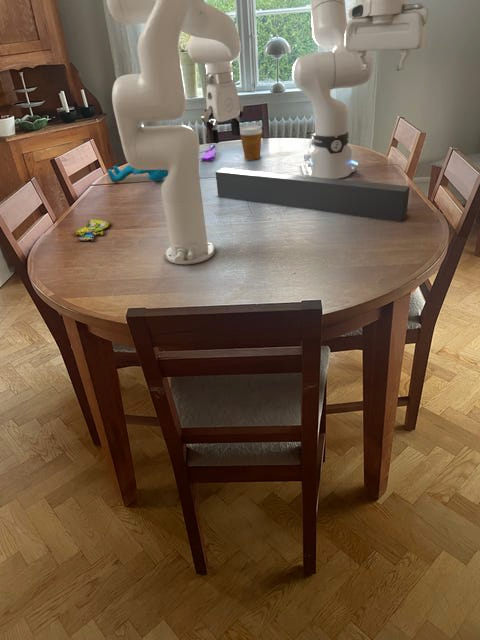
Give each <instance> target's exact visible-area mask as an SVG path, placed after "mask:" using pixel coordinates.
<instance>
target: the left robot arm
mask: <svg viewBox="0 0 480 640" xmlns="http://www.w3.org/2000/svg"><path fill="white" fill-rule="evenodd" d="M106 5H107V9H108V11H109V13H110V15H111V16H112V18H113V19H114V20H115V21H116V22H118V23H119V24H120V25H125V26H131V25H141V24H143V25H144V26H143V28H142V29H141V32H140V34H139V37H138V41H137V45H136V50H137V56H138V62H139V69H140V73H129V74H124V75H121V76H119V77H117V79H115V80H114V83H113V86H112V92H111V102H112V107H113V113H114V117H115V121H116V126H117V130H118V134H119V139H120V142H121V143H120V144H121V147H122V150H123V154H124V157H125V160H126V162H127V164H128V165H130V166H131V167H132V168H134V169H138V170H167V171H168V175H167V176H166V177H165V179H164V180H163V182H162V184H161V188H160V191H161V192H160V193H161V199H162V204H163V210H164V216H165V222H166V223H165V224H166V228H167V234H168V240H169V247H168V248H167V250H166V251H165V257H166V260H167V261H169V262H170V263H173V264H176V265H193V264H199V263H203V262H205V261H207V260H208V259H210V258H211V257H213V255H214V254H215V246H214V244H212V243H210V242H209V241H208V236H207V228H206V221H205V214H204V213H205V212H204V203H203V197H202V188H201V178H200V151H201V149H200V139H199V136H198V134H197V132H196V131H195V130H194V129H192V128H191V127H190V126H186V125H180V124H170V125H169V124H167V125H150V126H149V125H148V126H144V122H163V121H173V120H177V119H178V120H179V119H180V118H182V117H183V116H184V115H185V114H186V109H187V97H186V90H185V89H186V88H185V82H184V75H183V69H182V63H181V62H182V61H181V56H180V38H181V33H184V34H185V35H188V36H189V39H188V41H187V45H186V47H187V54H188V57H189V58H190V60H191V61H192V62H194V63H195V64H199V65H203V64H205V72H206V77H205V82H206V83H207V86H206V94H205V95H206V98H205V99H206V100H205V101H206V110H205V111H204V113H203V114H202V115H201V116H200V118H201V120H202V122H203V126H205V127H206V129H207V130H208V131H209V132H208V133H209V142H210V143H212V144H219V143H220V139H219V131H218V129H217V127H218V124H219V123H223V122H226V121H230V129H231V135H232V136H238V137H241V135H240V128H241V127H240V125H241V124H240V123H241V121H242V116H243V111H244V104H242V103H240V100H239V93H238V89H237V86H236V82H235V81H234V79H233V78H234V77H233V67H232V62H236V61H237V60H238V58H240V55H241V51H242V47H241V46H242V44H241V38H240V35H239V31H238V29H237V27H236V24H235V23H234V21H233V19H232V18H231V17H230V16H229V15H228V14H227V13H226V12H224V11H222V10H220V9H219V8H218V7H215V6H213V5H211V4H209V3H207V2H206V1H205V0H106Z"/></svg>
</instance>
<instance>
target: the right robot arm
mask: <svg viewBox="0 0 480 640" xmlns="http://www.w3.org/2000/svg"><path fill="white" fill-rule="evenodd" d="M310 2H311V3H310V15H311V31H312V38H313V40H314V42H315V44H316V45H317V46H318V47H320V48H321V49H323V50H326V51H317V52H316V51H315V52H310V53H307V54H304V55H301V56H298V57H297V59H296V60H295V62H294V63H293V66H292V71H291V72H292V73H291V75H292V76H291V77H292V81H293V83H294V84H295V86H296V87H297V88H298V89H299V90H300V91H301V92H303V94H305V95H306V97H307V99H308V100H309V101H310V103H311V106H312V109H313V118H314V133H313V132H312V131H310V130H307V132H306V135H308V134H309V135H311V143H310V146H311V147H310V148H309V150H308V151H307V154H304V156H303V161H304V162H303V163H301V170H302V174H303V176H310V177H320V178H331V179H343V178H347V177H348V176H350V175H351V174H352V173H355V172H356V167H354V166H353V165H355V166H358V165H359V162H357V161H355V160H353V153H352V152H353V151H352V147H351V146H350V145H349V140H350V139H349V138H350V135H349V131H348V125H349V109H348V107H347V105H346V104H345V103H344V102H342V101H340V100H339V99H337V98H335V97H332V96H331V90H336V89H347V88H349V89H350V88H355V87H358V86H361V85H362V86H363V85H365V84H367V83H368V81H369V80H370V79H371V77H372V75H373V72H374V60H373V56H372V55H371V53H370V52H371V51H372V52H373V51H375V52H376V51H396V50H397V51H398V50H399V51H400V55H402V56H401V58H400V60H399V61H397V62H395V67H394V70H395V71H404V68H405V62H406V61H407V59H408V57H409V56H410V52H411V50H419V49H422V48H423V47H424V46H425V44H426V40H427V21H428V15H429V9H428V7H427V6H426V5H425V4H423V3H421V2H420V3H415V4H414V3H413V4H412V3H411V4H408V3H407V4H406V2H407V1H406V0H364V1H361V2H360V3H358V4H356V5H353V6H352V7H350V8H349V9H348V13H347V11H346V10H347V9H346V0H310ZM347 16H348V18H349V20H348V19H347Z"/></svg>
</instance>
